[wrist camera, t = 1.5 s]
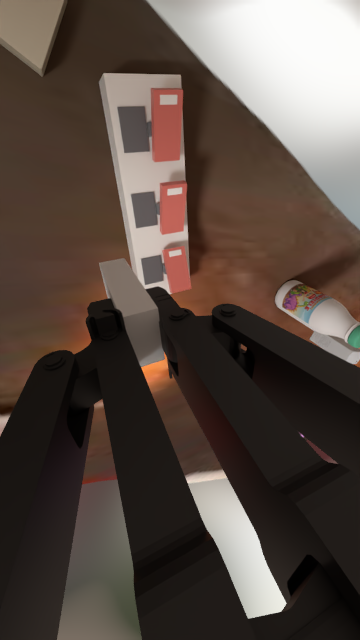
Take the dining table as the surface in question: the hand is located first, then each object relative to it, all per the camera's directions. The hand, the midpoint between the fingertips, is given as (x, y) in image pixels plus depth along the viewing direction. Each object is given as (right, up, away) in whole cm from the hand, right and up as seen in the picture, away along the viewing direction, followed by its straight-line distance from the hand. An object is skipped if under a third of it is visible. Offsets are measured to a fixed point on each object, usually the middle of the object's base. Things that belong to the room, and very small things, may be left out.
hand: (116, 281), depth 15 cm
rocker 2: (+3, +13, +19) cm, 23 cm away
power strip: (-1, +13, +25) cm, 28 cm away
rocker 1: (+2, +21, +14) cm, 25 cm away
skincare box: (+46, -7, +61) cm, 76 cm away
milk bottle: (+30, +4, +46) cm, 55 cm away
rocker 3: (+3, +6, +24) cm, 25 cm away
